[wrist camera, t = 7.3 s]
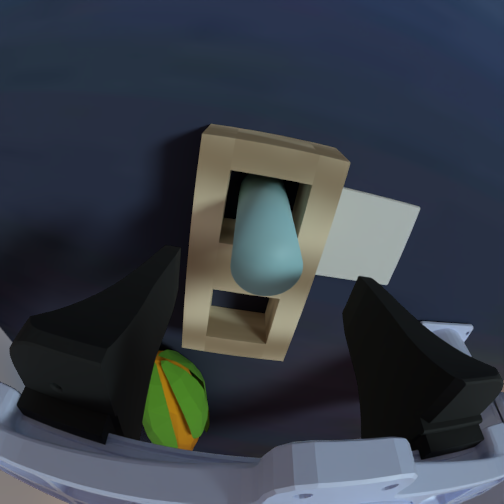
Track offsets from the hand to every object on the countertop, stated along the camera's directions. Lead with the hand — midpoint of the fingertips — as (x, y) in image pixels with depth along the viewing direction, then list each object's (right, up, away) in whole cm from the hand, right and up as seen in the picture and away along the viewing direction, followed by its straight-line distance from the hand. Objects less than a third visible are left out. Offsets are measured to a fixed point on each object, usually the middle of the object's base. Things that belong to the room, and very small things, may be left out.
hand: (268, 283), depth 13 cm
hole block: (-1, +2, +10) cm, 11 cm away
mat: (+8, +2, +10) cm, 13 cm away
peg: (0, +5, +8) cm, 10 cm away
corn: (-9, -14, +21) cm, 26 cm away
